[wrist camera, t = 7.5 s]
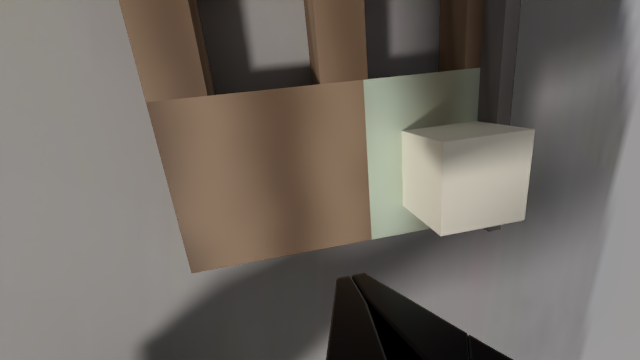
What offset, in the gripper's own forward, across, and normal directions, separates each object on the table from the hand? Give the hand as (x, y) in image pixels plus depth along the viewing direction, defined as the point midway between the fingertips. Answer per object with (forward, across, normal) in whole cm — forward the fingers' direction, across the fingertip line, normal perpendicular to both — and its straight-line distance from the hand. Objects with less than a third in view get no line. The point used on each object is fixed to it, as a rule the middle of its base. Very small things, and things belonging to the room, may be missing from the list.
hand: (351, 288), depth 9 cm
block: (+8, -8, -1) cm, 11 cm away
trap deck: (+11, -2, -4) cm, 12 cm away
